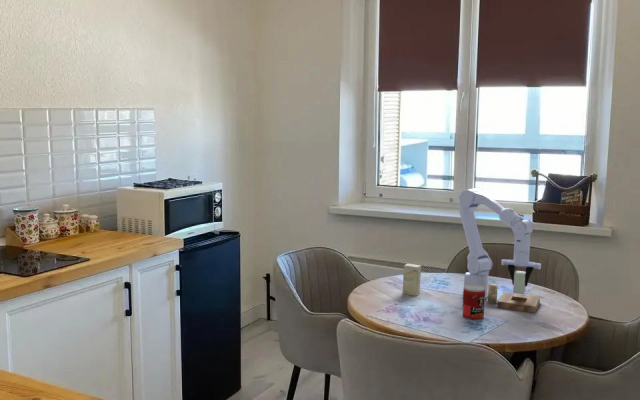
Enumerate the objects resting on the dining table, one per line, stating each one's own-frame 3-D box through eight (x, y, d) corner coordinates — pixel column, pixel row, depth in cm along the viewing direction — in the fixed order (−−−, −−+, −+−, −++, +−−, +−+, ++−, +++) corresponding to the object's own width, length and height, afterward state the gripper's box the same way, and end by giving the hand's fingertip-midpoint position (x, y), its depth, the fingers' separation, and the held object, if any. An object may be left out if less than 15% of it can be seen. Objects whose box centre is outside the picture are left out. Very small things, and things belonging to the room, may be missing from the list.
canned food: (472, 320, 219) (473, 291, 218) (457, 314, 227) (458, 285, 225) (488, 317, 223) (490, 288, 222) (473, 311, 230) (474, 283, 229)
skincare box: (402, 293, 252) (403, 265, 250) (406, 291, 256) (407, 263, 254) (416, 296, 249) (417, 267, 247) (420, 293, 253) (421, 265, 251)
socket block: (497, 307, 236) (497, 301, 235) (503, 297, 248) (503, 292, 248) (535, 312, 229) (535, 306, 229) (539, 302, 242) (540, 297, 242)
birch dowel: (486, 302, 241) (487, 285, 240) (488, 300, 244) (489, 283, 244) (495, 304, 240) (496, 286, 239) (497, 301, 243) (498, 284, 242)
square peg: (513, 293, 237) (514, 272, 236) (514, 290, 240) (515, 270, 239) (523, 294, 235) (525, 274, 234) (525, 291, 239) (526, 271, 238)
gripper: (500, 250, 235) (498, 285, 237) (540, 254, 229) (538, 289, 231) (503, 247, 242) (502, 280, 243) (542, 251, 235) (540, 285, 237)
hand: (519, 285), depth 238 cm, fingers closed on square peg, 4 cm apart
